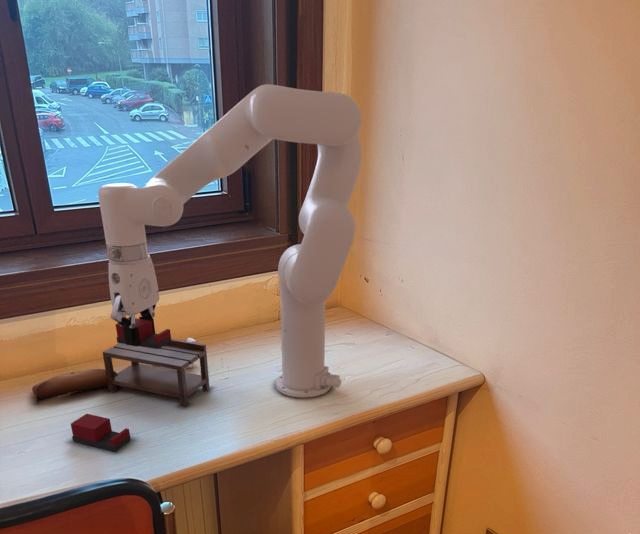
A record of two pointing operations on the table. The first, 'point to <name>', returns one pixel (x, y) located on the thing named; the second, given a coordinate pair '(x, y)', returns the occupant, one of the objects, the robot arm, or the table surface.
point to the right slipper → (146, 334)
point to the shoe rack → (158, 378)
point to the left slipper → (98, 433)
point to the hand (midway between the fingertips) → (140, 339)
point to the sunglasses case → (70, 383)
